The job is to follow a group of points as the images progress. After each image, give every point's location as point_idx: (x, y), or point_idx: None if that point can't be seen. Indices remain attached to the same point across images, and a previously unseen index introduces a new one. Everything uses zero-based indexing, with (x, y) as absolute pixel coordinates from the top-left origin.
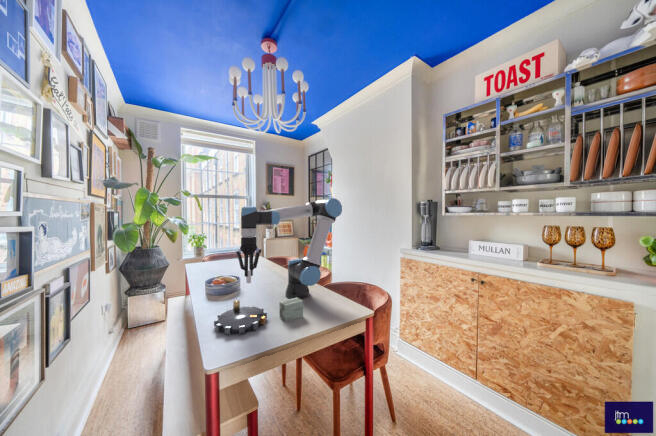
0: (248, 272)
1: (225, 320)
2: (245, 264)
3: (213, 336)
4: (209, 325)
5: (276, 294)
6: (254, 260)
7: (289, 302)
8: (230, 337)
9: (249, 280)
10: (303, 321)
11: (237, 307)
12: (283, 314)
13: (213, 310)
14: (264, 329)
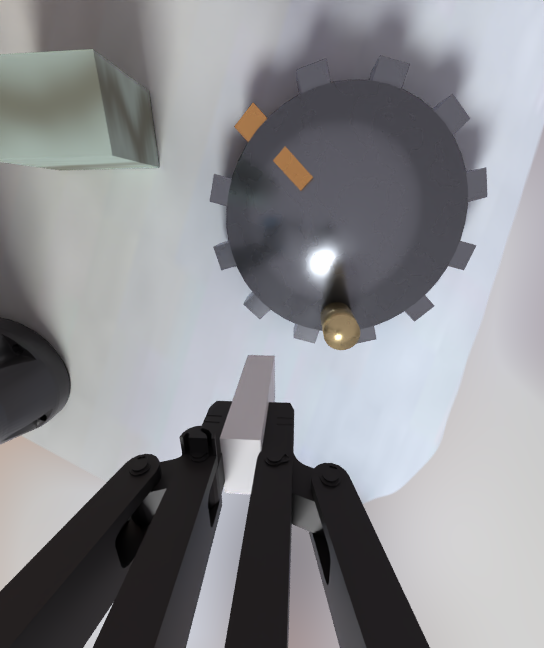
0: (258, 421)
1: (433, 208)
2: (289, 545)
3: None
4: (454, 294)
5: (105, 430)
6: (91, 617)
7: (50, 92)
8: (430, 102)
9: (258, 368)
10: (54, 32)
11: (338, 306)
12: (134, 100)
13: (387, 425)
14: (265, 78)
